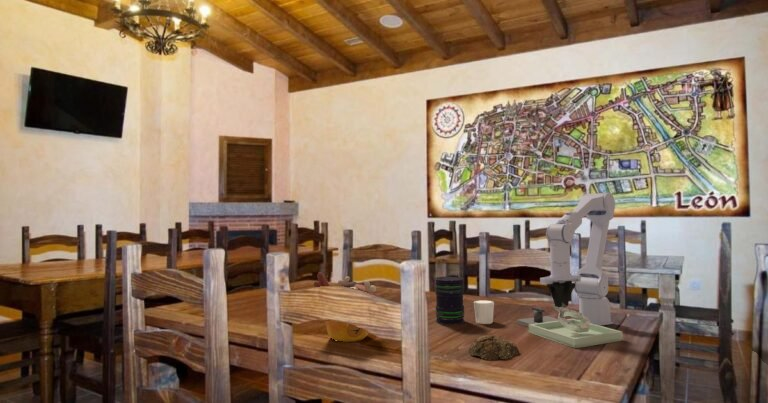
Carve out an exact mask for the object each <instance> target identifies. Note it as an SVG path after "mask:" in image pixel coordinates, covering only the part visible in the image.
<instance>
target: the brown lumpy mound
mask: <svg viewBox="0 0 768 403" xmlns="http://www.w3.org/2000/svg"><path fill="white" fill-rule="evenodd" d="M519 352H520V350H519V348H518V346H517V344H515V343H514V342H512V341H510V340H507V339H504V338H502V337H499V336H495V335H493V334H491V335H490V334H489V335H486V334H485V335H481V336H479V337H478V338H476V339H475V340H473V342H472V343H471V345H470V346H469V350H468V354H469V356H472V357H479V358H481V359H482V360H484V361H498V360H500V359H505V360H508V358H509V359H512V358H513V357H515V356H518V355H519ZM497 359H498V360H497Z"/></svg>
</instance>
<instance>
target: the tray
mask: <svg viewBox="0 0 768 403" xmlns="http://www.w3.org/2000/svg"><path fill="white" fill-rule="evenodd" d="M567 320H568V321H569V322H570V323H573V324H576V325H579V326H580V325H584V324H583V323H582V322H581V321H580V320H579V319H577V318H568V319H567ZM528 333H529V334H532V335H535V336H537V337H541V338H544V339H546V340H550V341H553V342H556V343H558V344H561V345H564V346H568V347H570V348H574V349H579V348H585V347H591V346H596V345H598V346H599V345H603V344H609V343H615V342H621V341H623V336H624V335H623V331H621V330H617V329H614V328H610V327H606V326H604V325H602V326H599V325H595V324H591V323H590V328H589V331H588V332H581V333H578V332H575V331H572V330H570V329H567V328H565V327H564V326H563V325H562V324H561V323H560V322H559V321H551V322H544V323H536V324H529V327H528Z"/></svg>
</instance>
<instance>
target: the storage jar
mask: <svg viewBox="0 0 768 403" xmlns="http://www.w3.org/2000/svg"><path fill="white" fill-rule="evenodd" d="M434 283H435V285H434V289H435V291H434V292H435V295H436V296H435V297H436V305H435V317H436V319H435V322H436V323H437V324H440V325H444V326H445V325H446V326H453V325H454V326H455V325H456V326H457V325H462V324H464V323H465V319H464V318H465V306H464V294H465V291H464V289H465V287H464V278H463V277H461V276H447V275H446V276H437V277H435V282H434Z"/></svg>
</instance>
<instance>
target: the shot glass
mask: <svg viewBox="0 0 768 403" xmlns="http://www.w3.org/2000/svg"><path fill="white" fill-rule="evenodd" d="M473 308H474V315H475V323H477V324H481V325H490V324H493V323H494V309H495V302H494V301H493V300H489V299H488V300H487V299H480V300H474V301H473Z"/></svg>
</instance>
